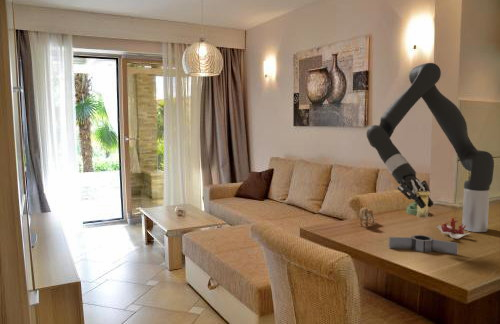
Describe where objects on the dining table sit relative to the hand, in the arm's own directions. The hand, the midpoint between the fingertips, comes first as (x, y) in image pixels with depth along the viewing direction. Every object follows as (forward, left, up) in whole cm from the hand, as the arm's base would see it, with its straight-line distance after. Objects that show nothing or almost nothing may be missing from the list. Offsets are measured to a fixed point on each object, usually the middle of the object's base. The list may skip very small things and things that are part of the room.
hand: (427, 206), depth 139 cm
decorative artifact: (-57, -15, -16) cm, 61 cm away
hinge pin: (-1, -2, -4) cm, 5 cm away
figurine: (-23, +5, -16) cm, 28 cm away
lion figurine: (-21, -28, -16) cm, 39 cm away
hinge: (0, -1, -16) cm, 16 cm away
